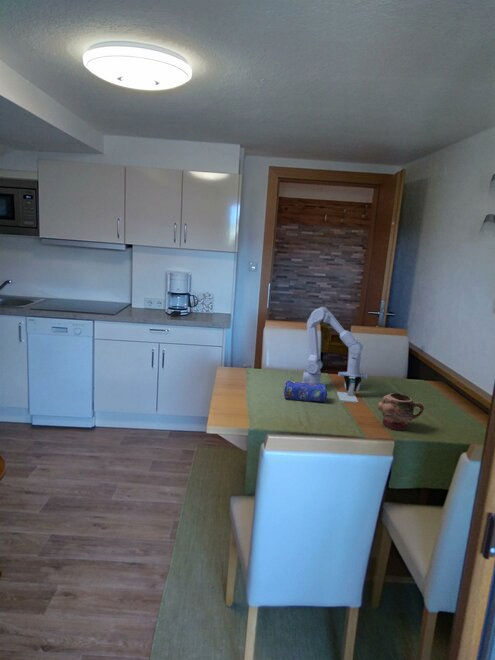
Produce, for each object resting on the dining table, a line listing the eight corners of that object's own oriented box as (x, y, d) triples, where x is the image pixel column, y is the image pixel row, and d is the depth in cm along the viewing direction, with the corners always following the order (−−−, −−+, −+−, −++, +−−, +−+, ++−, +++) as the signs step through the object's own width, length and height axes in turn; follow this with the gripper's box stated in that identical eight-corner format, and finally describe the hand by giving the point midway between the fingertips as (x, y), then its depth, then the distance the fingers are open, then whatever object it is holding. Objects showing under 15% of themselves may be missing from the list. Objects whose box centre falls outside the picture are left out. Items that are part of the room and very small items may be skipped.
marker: (347, 395, 227) (349, 379, 225) (346, 393, 230) (348, 377, 229) (354, 396, 227) (356, 380, 225) (353, 393, 230) (355, 378, 228)
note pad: (340, 401, 220) (340, 399, 220) (336, 392, 233) (336, 391, 233) (358, 402, 220) (358, 401, 220) (353, 393, 233) (353, 392, 233)
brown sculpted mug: (413, 421, 201) (418, 393, 198) (425, 433, 189) (430, 402, 186) (371, 419, 199) (375, 390, 196) (380, 431, 187) (385, 400, 185)
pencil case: (282, 400, 216) (284, 382, 214) (282, 394, 224) (283, 376, 222) (327, 405, 214) (329, 386, 212) (325, 398, 223) (327, 380, 221)
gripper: (340, 366, 222) (337, 391, 225) (369, 368, 221) (366, 394, 224) (338, 362, 229) (336, 387, 232) (366, 364, 228) (363, 389, 231)
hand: (350, 390), depth 228 cm, fingers closed on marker, 3 cm apart
